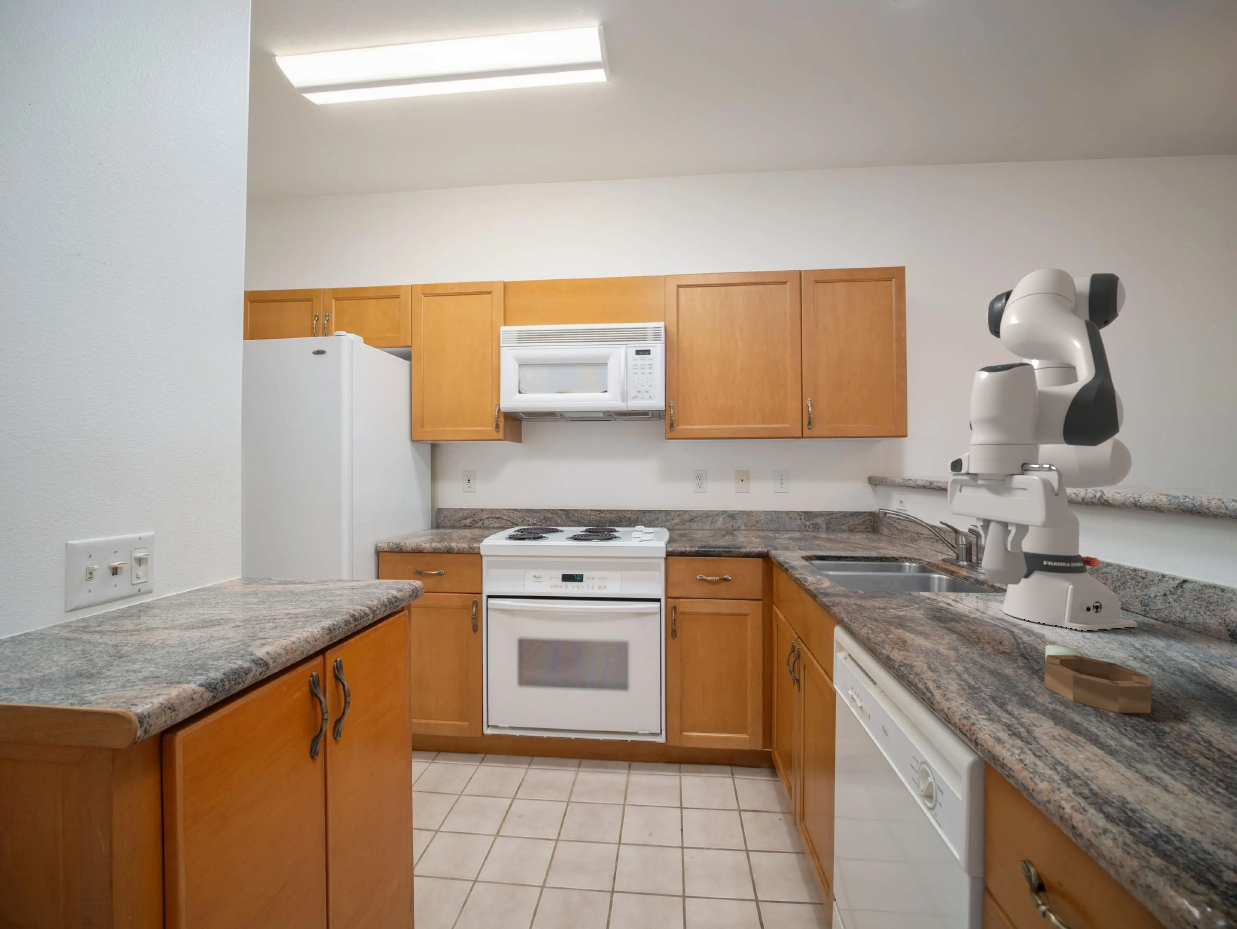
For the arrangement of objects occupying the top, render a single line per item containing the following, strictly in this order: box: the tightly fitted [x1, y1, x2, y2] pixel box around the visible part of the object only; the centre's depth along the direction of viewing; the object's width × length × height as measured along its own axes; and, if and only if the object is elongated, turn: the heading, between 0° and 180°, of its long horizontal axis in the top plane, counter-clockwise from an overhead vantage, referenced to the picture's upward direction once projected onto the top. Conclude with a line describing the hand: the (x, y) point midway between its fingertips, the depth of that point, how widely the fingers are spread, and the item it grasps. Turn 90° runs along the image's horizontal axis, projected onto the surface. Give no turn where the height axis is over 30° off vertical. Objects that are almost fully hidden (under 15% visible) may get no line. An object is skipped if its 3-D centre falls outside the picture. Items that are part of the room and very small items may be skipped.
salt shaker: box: [981, 508, 1027, 585], centre depth 79 cm, size 6×6×13 cm
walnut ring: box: [1044, 655, 1152, 714], centre depth 70 cm, size 10×10×4 cm
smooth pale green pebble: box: [1044, 644, 1084, 661], centre depth 79 cm, size 4×4×3 cm
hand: (1000, 549), depth 79 cm, fingers closed on salt shaker, 3 cm apart
